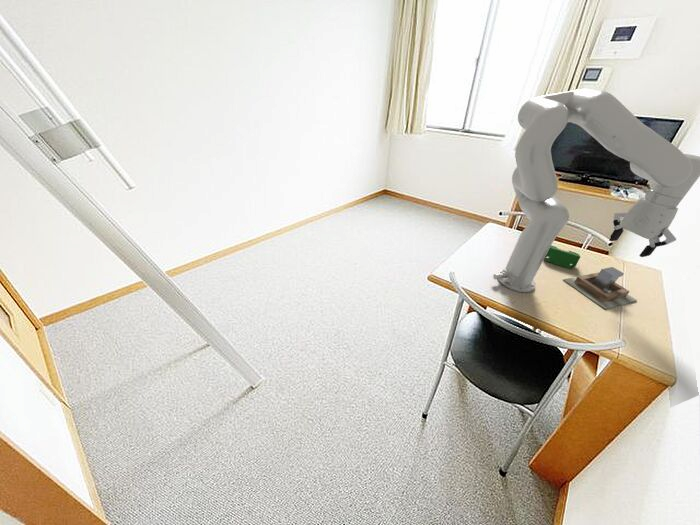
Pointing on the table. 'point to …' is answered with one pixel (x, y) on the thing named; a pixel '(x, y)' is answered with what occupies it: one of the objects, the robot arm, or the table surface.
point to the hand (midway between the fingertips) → (627, 248)
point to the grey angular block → (607, 278)
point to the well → (600, 291)
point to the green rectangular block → (562, 257)
